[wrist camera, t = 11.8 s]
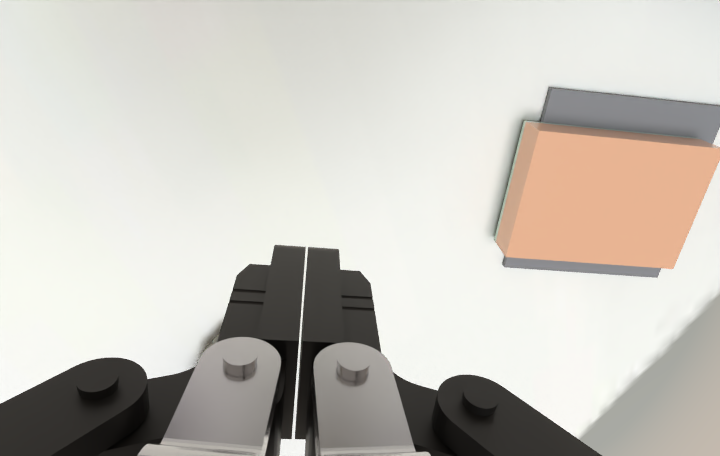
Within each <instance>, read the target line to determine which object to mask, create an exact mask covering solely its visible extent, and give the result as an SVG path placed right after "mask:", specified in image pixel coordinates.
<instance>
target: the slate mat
mask: <svg viewBox="0 0 720 456" xmlns="http://www.w3.org/2000/svg"><path fill="white" fill-rule="evenodd" d="M540 122H545V123H555V124H565V125H574V126H584V127H594V128H604V129H614V130H624V131H634V132H644V133H654V134H664V135H674V136H684V137H694V138H699V139H701V140H704V141H706V142H708V143H711V144H713V142H714V140H715V137H716V135H717V132H718V130H719V127H720V106H718V105H709V104H700V103H691V102H681V101H672V100H663V99H654V98H644V97H635V96H626V95H617V94H607V93H598V92H589V91H580V90H570V89H561V88H552V87H549V90H548V94H547V97H546V101H545V105H544V109H543V113H542V116H541V120H540ZM503 266H504V267H510V268H524V269H539V270H553V271H568V272H583V273H597V274H612V275H626V276H641V277H656V278H657V277H658V275H659V272H660V270H661V268H652V267H638V266H624V265H610V264H596V263H582V262H568V261H553V260H539V259H525V258H511V257H504V261H503Z"/></svg>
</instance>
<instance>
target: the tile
mask: <svg viewBox="0 0 720 456" xmlns="http://www.w3.org/2000/svg"><path fill="white" fill-rule="evenodd" d="M719 160H720V147H718V146H716V145H713V144H711V143H708V142H706V141H704V140H701V139H699V138H694V137H684V136H674V135H664V134H654V133H644V132H634V131H624V130H614V129H604V128H594V127H584V126H574V125H565V124H555V123H545V122H535V121H525V120H524V122H523V126H522V130H521V134H520V138H519V142H518V146H517V150H516V154H515V158H514V162H513V166H512V170H511V174H510V178H509V182H508V186H507V190H506V194H505V198H504V202H503V206H502V210H501V214H500V218H499V222H498V226H497V230H496V234H495V238H494V240H495V242H496V243H497V245H498V246H499V248H500V249H501V251H502V252H503V254H504V255H505V257H511V258H525V259H539V260H553V261H568V262H582V263H596V264H610V265H624V266H638V267H652V268H667V269H673V268H674V266H675V263H676V261H677V259H678V256H679V254H680V252H681V249H682V247H683V245H684V242H685V240H686V238H687V235H688V233H689V231H690V228H691V226H692V223H693V221H694V219H695V216H696V214H697V212H698V209H699V207H700V205H701V202H702V200H703V198H704V195H705V193H706V191H707V188H708V186H709V184H710V181H711V179H712V177H713V174H714V172H715V170H716V167H717V165H718V163H719Z"/></svg>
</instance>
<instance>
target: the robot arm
mask: <svg viewBox="0 0 720 456" xmlns="http://www.w3.org/2000/svg"><path fill="white" fill-rule="evenodd" d="M304 261H305V247H298V246H284V245H275V246H274V251H273V256H272V261H271V265H256V264H249V265H248V266H247V267H246V268H245V269H244V270H243V271H241V272H240V273H239V274H238V275H237V277H236V280H235V284H234V287H233V292H232V294H231V297H230V302H229V304H228V307H227V310H226V314H225V317H224V320H223V324H222V327H221V330H220V334H219V337H218V340H217V343H215V344H213V345H211V346H210V347H209V348H207V349H206V350H205V351H204V352H203V353H202V355H201V357H200V358H199V361H198V363H197V365H196V367H194V368H192V369H190V370H187V371H184V372H181V373H178V374H174V375H169V376H163V377H158V378H152V379H147V376H146V372H145V371H144V369H143V368H142V367H141V366H140V365H139V364H137V363H135V362H133V361H130V360H127V359H123V358H101V359H95V360H91V361H87V362H84V363H81V364H79V365H77V366H75V367H73V368H71V369H69V370H67V371H65V372H63V373H61V374H59V375H57V376H55V377H53V378H51V379H49V380H47V381H45V382H43V383H41V384H39V385H37V386H35V387H33V388H31V389H29V390H27V391H25V392H23V393H21V394H19V395H17V396H15V397H13V398H11V399H9V400H7V401H5V402H3V403H1V404H0V456H279V453H280V443H281V439H291V438H292V424H293V411H294V398H295V385H296V372H297V358H298V345H299V331H300V317H301V303H302V289H303V275H304ZM295 439H306V444H305V456H602V455H600V454H599V453H597V452H596V451H594V450H593V449H592V448H590V447H588V446H587V445H586V444H584V443H583V442H581V441H580V440H579V439H577V438H576V437H574V436H573V435H571V434H570V433H569V432H567V431H566V430H564V429H563V428H561V427H560V426H558V425H557V424H556V423H554V422H553V421H551V420H550V419H548V418H547V417H545V416H544V415H543V414H541V413H540V412H538V411H537V410H535V409H534V408H532V407H531V406H530V405H528V404H527V403H525V402H524V401H522V400H521V399H519V398H518V397H517V396H515V395H514V394H512V393H511V392H509V391H508V390H507V389H505V388H504V387H502V386H501V385H499V384H497V383H495V382H493V381H491V380H489V379H486V378H483V377H479V376H475V375H458V376H454V377H451V378H449V379H447V380H445V381H444V382H443V383H442V384H441V385H440V387H439V389H438V391H437V390H433V389H430V388H426V387H423V386H419V385H416V384H413V383H410V382H408V381H406V380H404V379H402V378H401V377H399V376H397V375H396V374H395V373H394V372H393V371H392V367H391V365H390V362H389V361H388V359H387V358H386V357H385V356H384V355H383V354H382V353H381V349H380V342H379V336H378V329H377V323H376V317H375V311H374V304H373V300H372V291H371V284H370V283H369V281H368V280H367V279H366V278H365V277H364V276H363V274H362V273H361V272H360V271H349V270H340V260H339V249H328V248H314V247H308V257H307V270H306V282H305V295H304V308H303V322H302V337H301V352H300V368H299V383H298V399H297V414H296V430H295Z"/></svg>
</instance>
